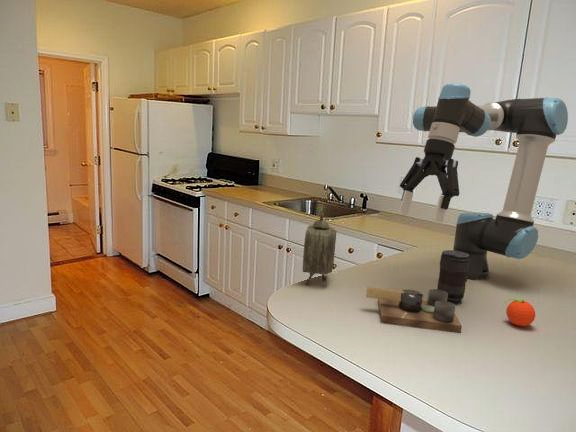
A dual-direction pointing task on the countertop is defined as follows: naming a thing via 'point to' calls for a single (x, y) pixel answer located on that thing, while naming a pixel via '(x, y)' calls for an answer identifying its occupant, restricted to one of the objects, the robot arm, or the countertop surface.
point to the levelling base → (423, 313)
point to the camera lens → (453, 274)
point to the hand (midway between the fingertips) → (419, 217)
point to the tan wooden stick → (398, 297)
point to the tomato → (520, 312)
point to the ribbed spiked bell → (319, 248)
